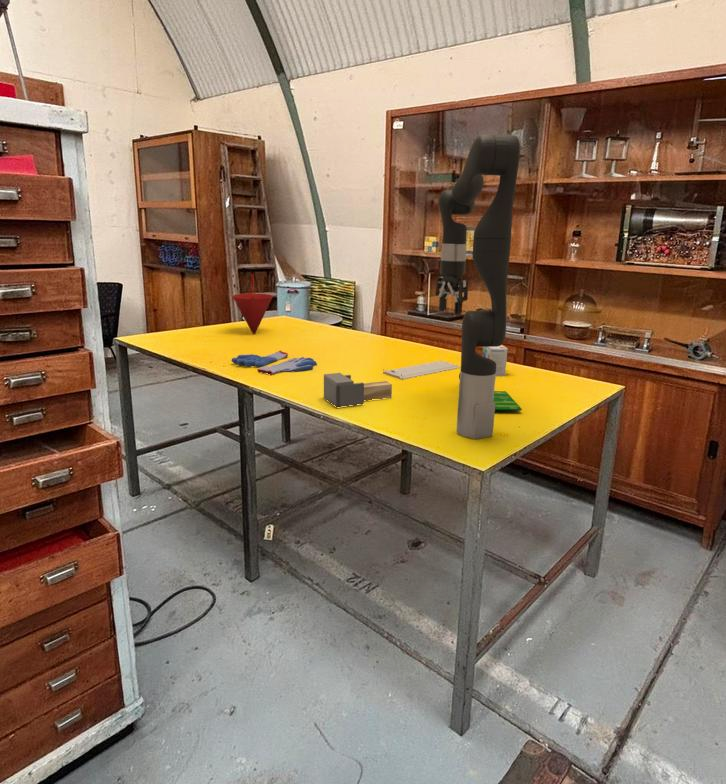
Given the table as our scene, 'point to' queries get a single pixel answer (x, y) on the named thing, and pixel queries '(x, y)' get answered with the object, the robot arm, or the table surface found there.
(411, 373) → the baseboard molding
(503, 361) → the light bulb box
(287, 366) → the pair of gloves
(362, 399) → the end cap
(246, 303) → the fire bucket
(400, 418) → the table surface
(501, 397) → the electronic board model
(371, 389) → the slat
